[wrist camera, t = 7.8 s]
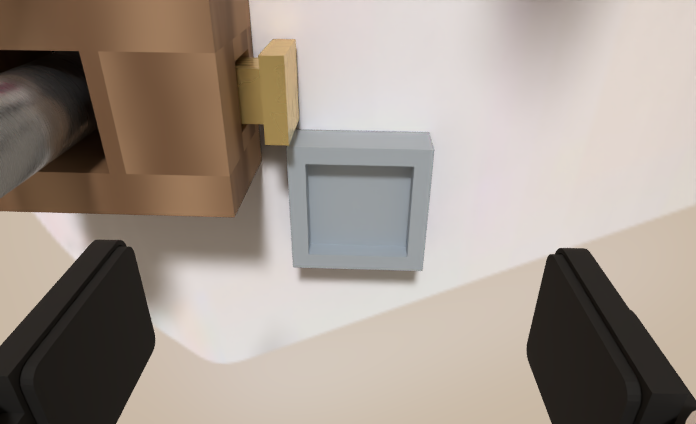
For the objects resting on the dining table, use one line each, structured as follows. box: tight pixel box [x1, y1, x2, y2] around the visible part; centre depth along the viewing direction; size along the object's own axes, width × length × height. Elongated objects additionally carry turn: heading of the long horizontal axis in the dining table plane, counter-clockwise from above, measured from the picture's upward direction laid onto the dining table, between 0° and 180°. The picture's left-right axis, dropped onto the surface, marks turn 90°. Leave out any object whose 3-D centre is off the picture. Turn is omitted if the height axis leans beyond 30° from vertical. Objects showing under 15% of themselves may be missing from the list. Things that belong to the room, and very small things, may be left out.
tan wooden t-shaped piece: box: [235, 39, 299, 146], centre depth 26 cm, size 7×4×4 cm, turn 90°
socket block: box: [0, 0, 262, 217], centre depth 25 cm, size 12×10×7 cm
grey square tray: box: [286, 130, 434, 271], centre depth 30 cm, size 8×8×3 cm
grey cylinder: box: [0, 51, 98, 198], centre depth 22 cm, size 4×4×14 cm
